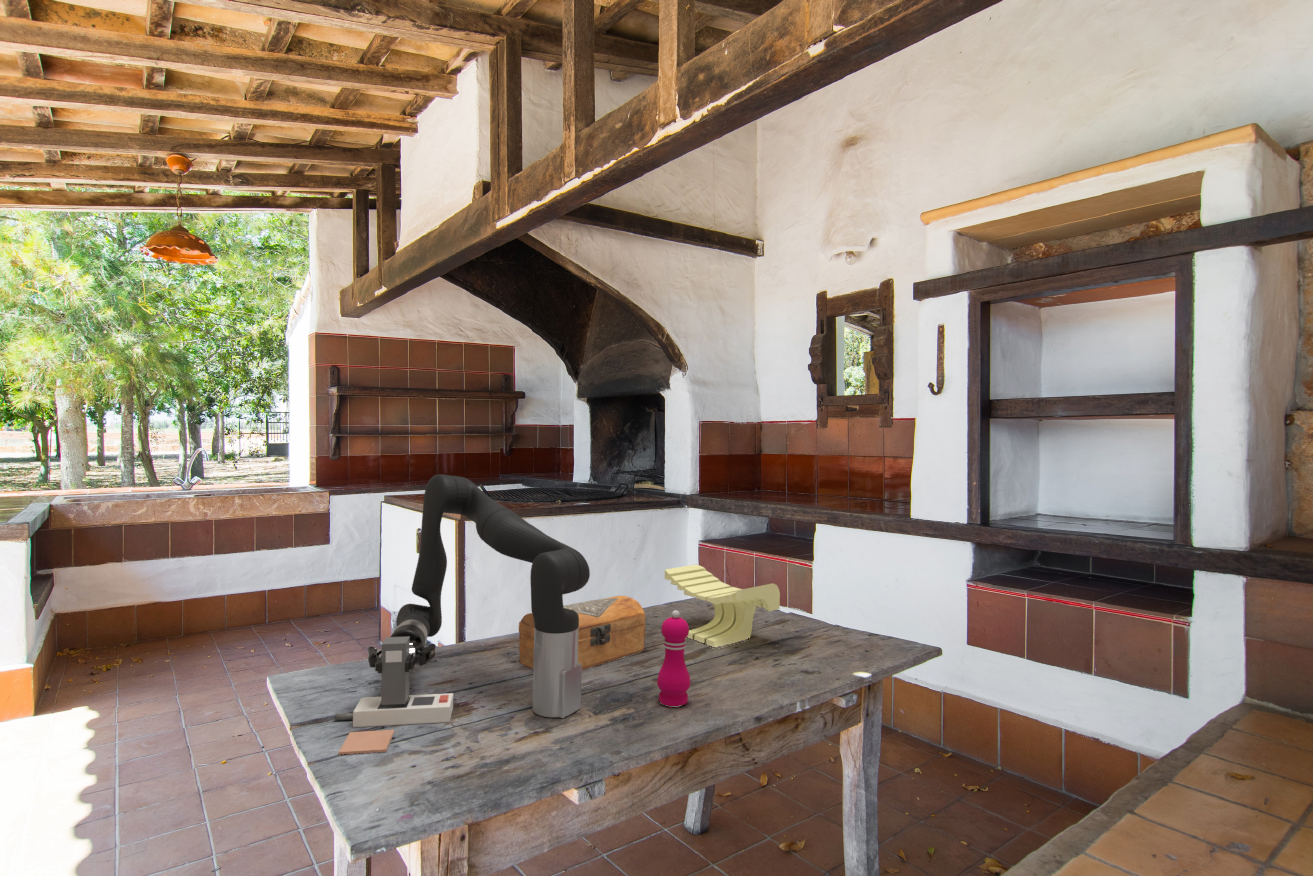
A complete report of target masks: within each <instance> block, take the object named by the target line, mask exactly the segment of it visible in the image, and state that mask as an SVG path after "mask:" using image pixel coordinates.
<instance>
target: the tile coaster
mask: <svg viewBox="0 0 1313 876" xmlns="http://www.w3.org/2000/svg"><path fill="white" fill-rule="evenodd" d="M394 734H395V729H383V730H365V731H352V732H351V731H350V732H349V733H348V734H347V736H346V738H345V740H344V742H343V743H342V745H341V747H340V749H339V750H338V756H342V755H343V756H345V755H344V754H347V755H359V753H360V754H361V753H364V754H377V753H378V752H380V753H386V752H387V751H388V749H389V746H390V743H391V741H392V739H393V737H394ZM371 752H372V753H371ZM374 752H375V753H374ZM355 753H356V754H355ZM341 754H342V755H341Z"/></svg>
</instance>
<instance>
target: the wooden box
mask: <svg viewBox="0 0 1313 876" xmlns="http://www.w3.org/2000/svg"><path fill="white" fill-rule="evenodd" d="M563 607H564V608H567V609H570V610H573V611H575V612H577V613H578V616H579V634H578V663H581V664H582V671H584V670H583V669H585V670H587V669H586V668H589V669H591V668H590V667H592V668H594V667H593V666H595V667H598V666H597V665H599V666H601V665H600V664H602V665H604V664H603V663H605V664H607V663H606V662H609V661H611V662H614V661H613V660H615V661H617V660H616V659H619V658H622V657H624V656H628V655H631V654H634V653H638V652H641V651H643V652H644V650H645V641H646V613H645V610H644V608H643V607H642V606H641V604H640V603H639V601H638V600H636V599H635V598H632V597H629V596H626V595H616V596H615V595H614V596H611V597H606V598H601V599H600V598H599V599H594V600H587V601H581V602H576V603H572V604H566V605H563ZM518 633H519V635H518V640H519V641H518V642H519V644H518V646H519V647H518V648H519V649H518V651H519V663H520V664H521V665H524V666H526V667H528V668H530V667H531V668H530V669H532V670H533V664H534V618H533V614H532V612H531V613H530V612H529V613H526V614H524V616H523V617H522V618H521V619H520V621H519V623H518ZM622 659H623V658H622ZM619 660H620V659H619ZM609 663H610V662H609Z"/></svg>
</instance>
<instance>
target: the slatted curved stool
mask: <svg viewBox="0 0 1313 876" xmlns="http://www.w3.org/2000/svg"><path fill="white" fill-rule="evenodd" d="M664 580H667V581H670V585H673V586H677V587H676V589H677V590H679V591H683V595H685V596H688V597H691V598H695V599H698V600H701V601H707V602H708V603H711V604H712V605H713V608H714V617H713V618H712V620H711V621H709V622H708V623H706V624H704V625H702V626H698V627H696V628H693V629H689V634H688V636H687V637H688V638H691V639H694V640H697V641H699V642H702V643H706V644H707V645H710V646H712V647H718V646H723V645H726V644H731V643H735V642H738V641H741V640H745V639H748V638H749V639H750V638H751V636H752V632H753V631H752V630H753V621H754V616H755V612H756V610H757V607H758V608H763V609H764V610H766V611H768V612H772V611H778V610H781V609H780V606H781V605H780V603H781V602H780V600H781V599H780V598H781V593H780V588H779V586H778V585H777V584H776V583H773V582H772V583H768V584H762V585H759V586H757V585H756V586H752V587H749V588H743V589H742V588H739V587H735V586H732V585H730V584H727V583H725V582H722V581H721V580H720V578H718V577H716V576H714V574H713V573H711V572H710V571H707V568H705V567H704V566H701V565H699V564H693V565H692V564H691V565H685V566H684V565H683V566H678V567H672V568H666V569H664ZM694 640H693V641H694ZM706 644H705V645H706Z"/></svg>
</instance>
